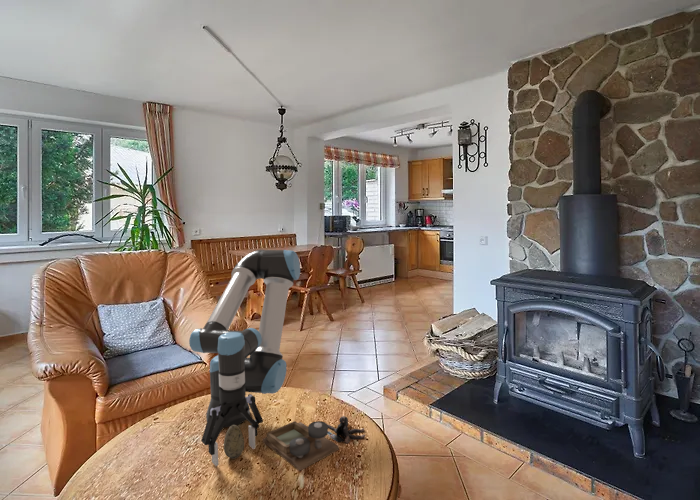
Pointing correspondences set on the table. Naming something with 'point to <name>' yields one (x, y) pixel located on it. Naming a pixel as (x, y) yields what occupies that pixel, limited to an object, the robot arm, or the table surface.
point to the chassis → (299, 445)
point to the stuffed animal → (344, 431)
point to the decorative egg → (233, 442)
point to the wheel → (318, 429)
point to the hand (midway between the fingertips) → (234, 454)
